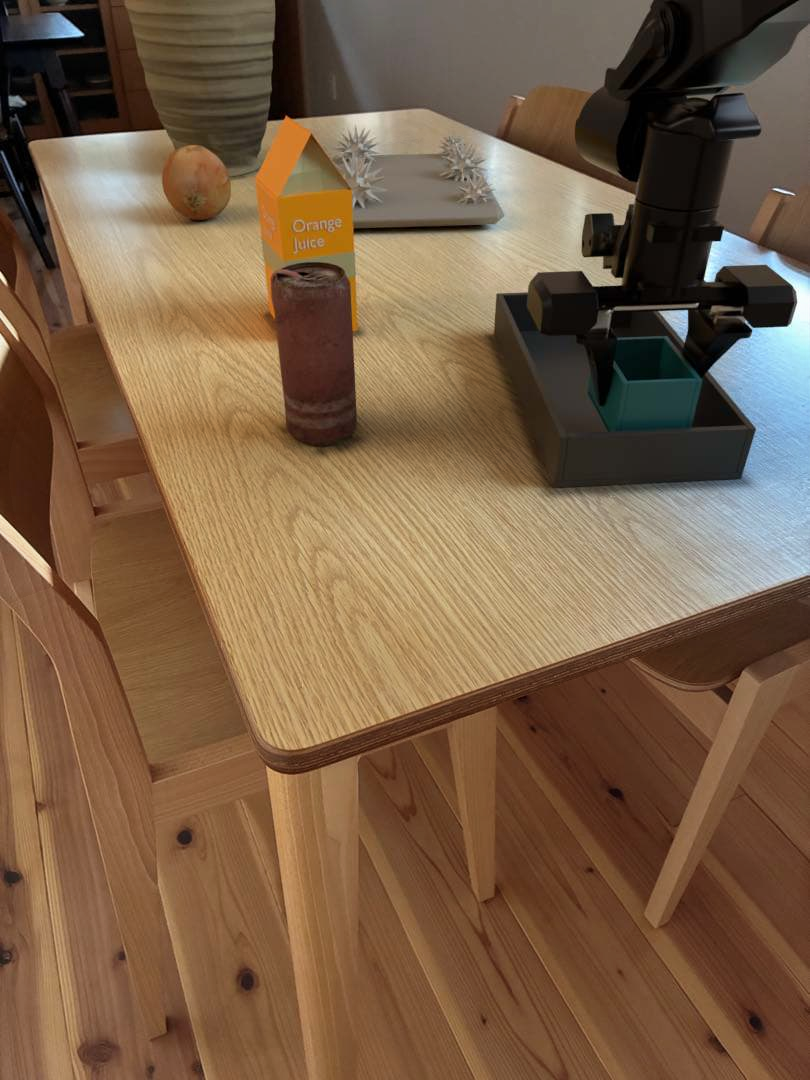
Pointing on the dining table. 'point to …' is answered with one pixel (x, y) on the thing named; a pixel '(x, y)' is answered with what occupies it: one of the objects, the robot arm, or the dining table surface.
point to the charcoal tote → (576, 427)
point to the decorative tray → (416, 186)
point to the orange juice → (304, 208)
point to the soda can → (315, 351)
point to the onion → (196, 182)
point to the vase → (209, 72)
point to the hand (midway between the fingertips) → (638, 401)
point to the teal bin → (649, 387)
